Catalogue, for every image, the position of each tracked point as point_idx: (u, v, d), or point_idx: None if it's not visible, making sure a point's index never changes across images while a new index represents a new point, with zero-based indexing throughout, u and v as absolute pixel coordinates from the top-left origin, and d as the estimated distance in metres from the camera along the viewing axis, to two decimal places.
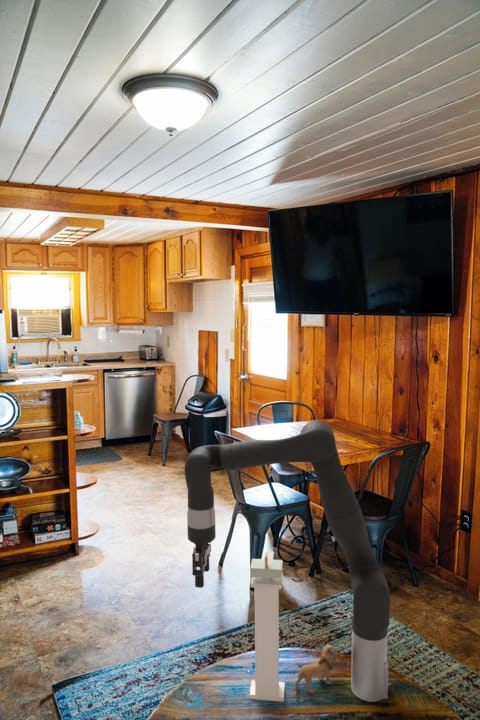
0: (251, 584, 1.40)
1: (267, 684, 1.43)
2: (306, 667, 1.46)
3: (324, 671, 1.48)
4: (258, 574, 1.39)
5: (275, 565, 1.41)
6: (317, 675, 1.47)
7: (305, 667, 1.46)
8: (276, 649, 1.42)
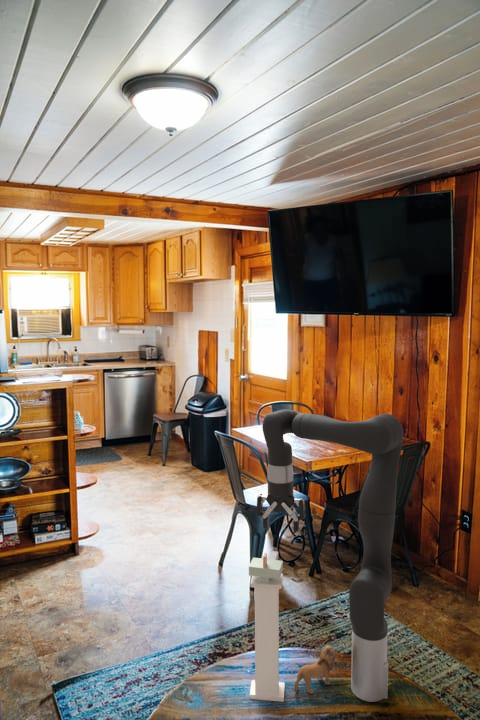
0: (251, 584, 1.40)
1: (267, 684, 1.43)
2: (305, 667, 1.46)
3: (323, 671, 1.48)
4: (257, 573, 1.40)
5: (274, 565, 1.40)
6: (316, 675, 1.47)
7: (304, 667, 1.46)
8: (276, 649, 1.42)
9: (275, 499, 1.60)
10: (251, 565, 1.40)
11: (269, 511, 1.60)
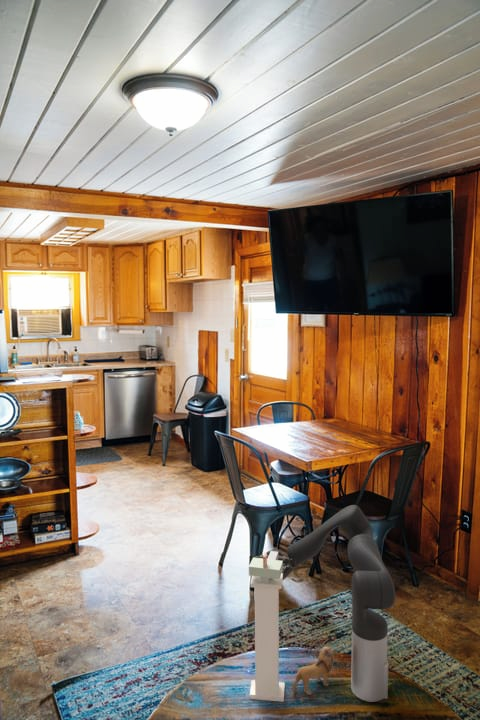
0: (251, 584, 1.40)
1: (267, 684, 1.43)
2: (303, 669, 1.45)
3: (322, 673, 1.47)
4: (257, 573, 1.40)
5: (274, 565, 1.40)
6: (314, 677, 1.46)
7: (302, 669, 1.46)
8: (276, 649, 1.42)
9: None
10: (251, 565, 1.40)
11: (262, 555, 1.68)
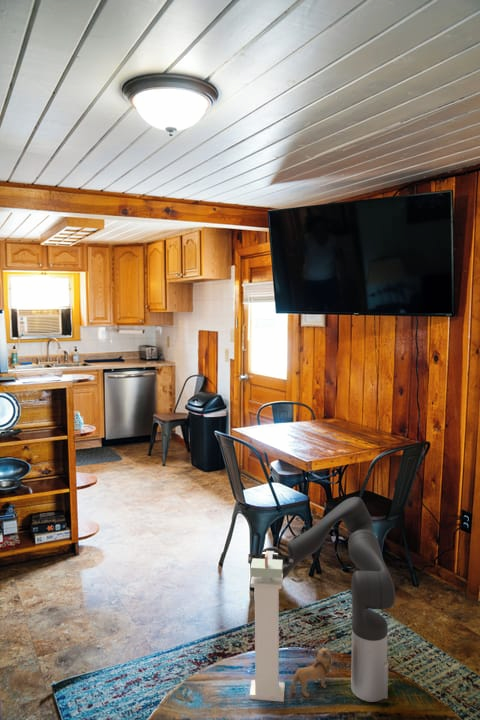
0: (251, 584, 1.40)
1: (267, 684, 1.43)
2: (301, 670, 1.45)
3: (319, 674, 1.47)
4: (258, 573, 1.39)
5: (275, 564, 1.41)
6: (312, 678, 1.46)
7: (300, 670, 1.45)
8: (276, 649, 1.42)
9: None
10: (252, 566, 1.40)
11: (265, 552, 1.55)
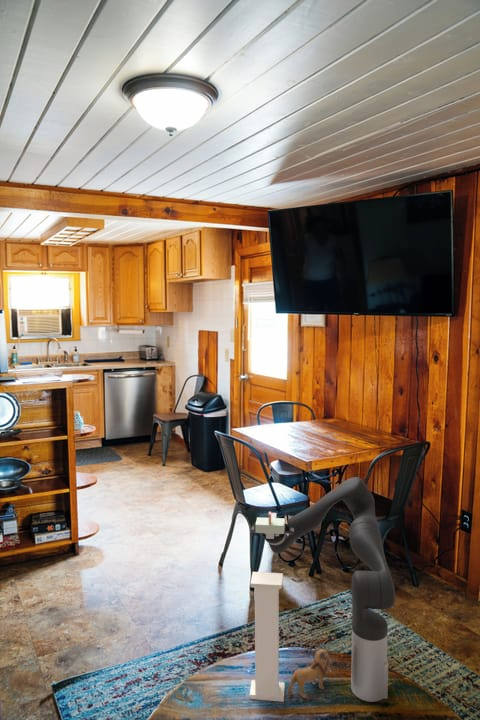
0: (251, 584, 1.40)
1: (267, 684, 1.43)
2: (299, 672, 1.44)
3: (317, 676, 1.46)
4: (263, 530, 1.53)
5: (278, 522, 1.55)
6: (310, 680, 1.45)
7: (298, 672, 1.44)
8: (276, 649, 1.42)
9: None
10: (257, 523, 1.54)
11: None
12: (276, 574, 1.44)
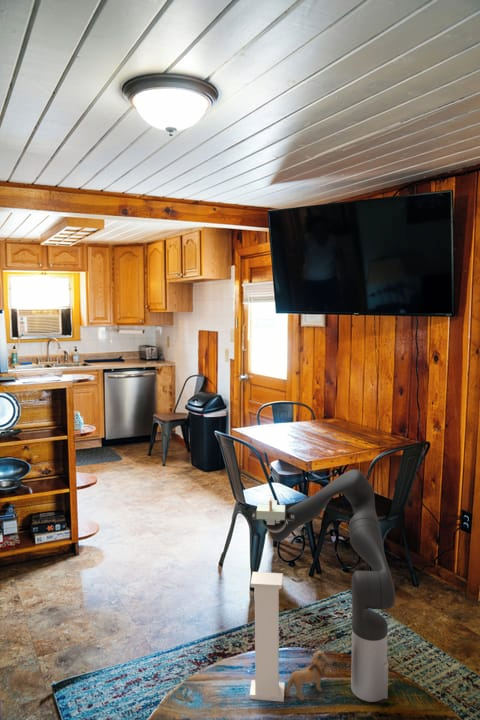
0: (251, 584, 1.40)
1: (267, 684, 1.43)
2: (296, 673, 1.44)
3: (315, 677, 1.45)
4: (264, 516, 1.55)
5: (278, 508, 1.57)
6: (307, 681, 1.45)
7: (295, 673, 1.44)
8: (276, 649, 1.42)
9: None
10: (258, 509, 1.56)
11: None
12: (276, 574, 1.44)
